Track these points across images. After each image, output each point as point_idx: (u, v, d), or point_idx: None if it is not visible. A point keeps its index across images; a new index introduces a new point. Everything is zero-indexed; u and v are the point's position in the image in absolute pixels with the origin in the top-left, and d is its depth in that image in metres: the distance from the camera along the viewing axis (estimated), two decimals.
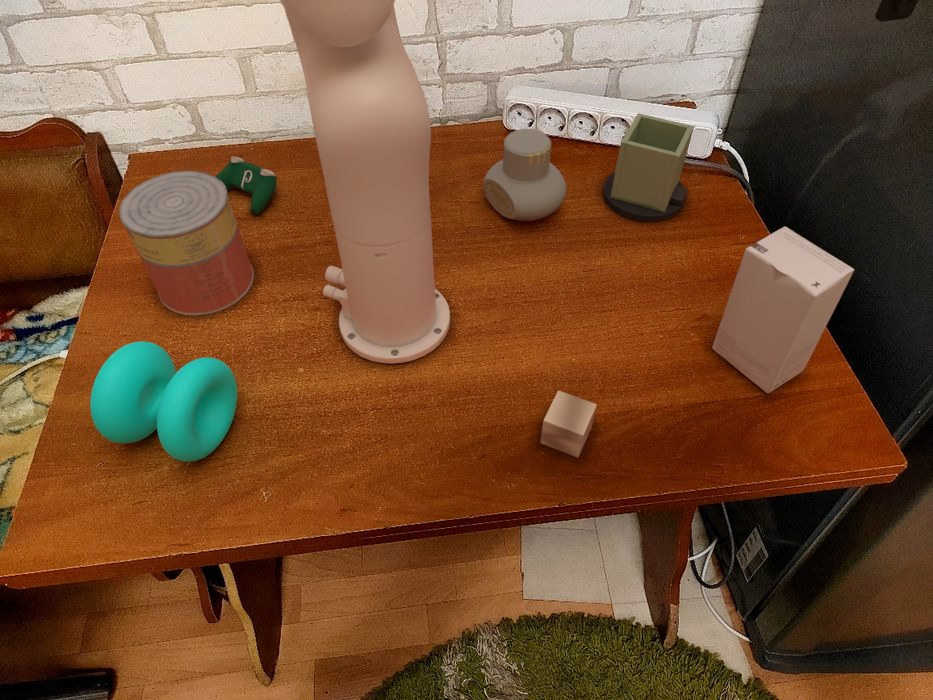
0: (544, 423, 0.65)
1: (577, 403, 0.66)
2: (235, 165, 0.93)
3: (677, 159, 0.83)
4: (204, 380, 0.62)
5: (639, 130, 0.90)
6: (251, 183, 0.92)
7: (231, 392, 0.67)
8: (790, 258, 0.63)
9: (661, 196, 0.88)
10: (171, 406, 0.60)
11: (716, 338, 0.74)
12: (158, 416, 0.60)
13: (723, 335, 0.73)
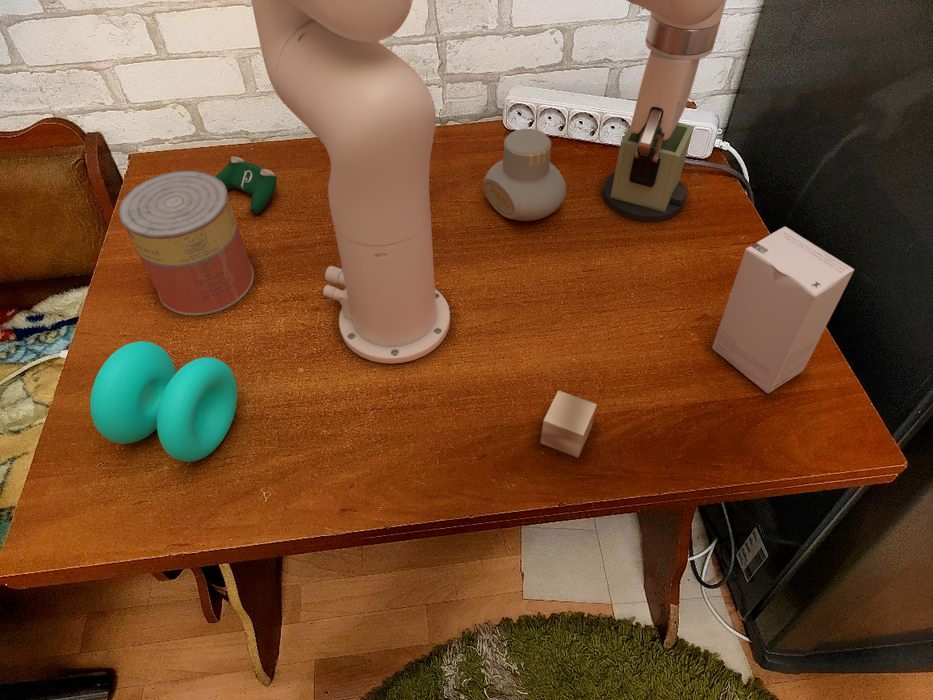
0: (544, 423, 0.65)
1: (577, 403, 0.66)
2: (235, 165, 0.93)
3: (677, 159, 0.83)
4: (204, 380, 0.62)
5: None
6: (251, 182, 0.92)
7: (231, 392, 0.67)
8: (790, 258, 0.63)
9: (661, 196, 0.88)
10: (171, 406, 0.60)
11: (716, 338, 0.74)
12: (158, 416, 0.60)
13: (723, 335, 0.73)
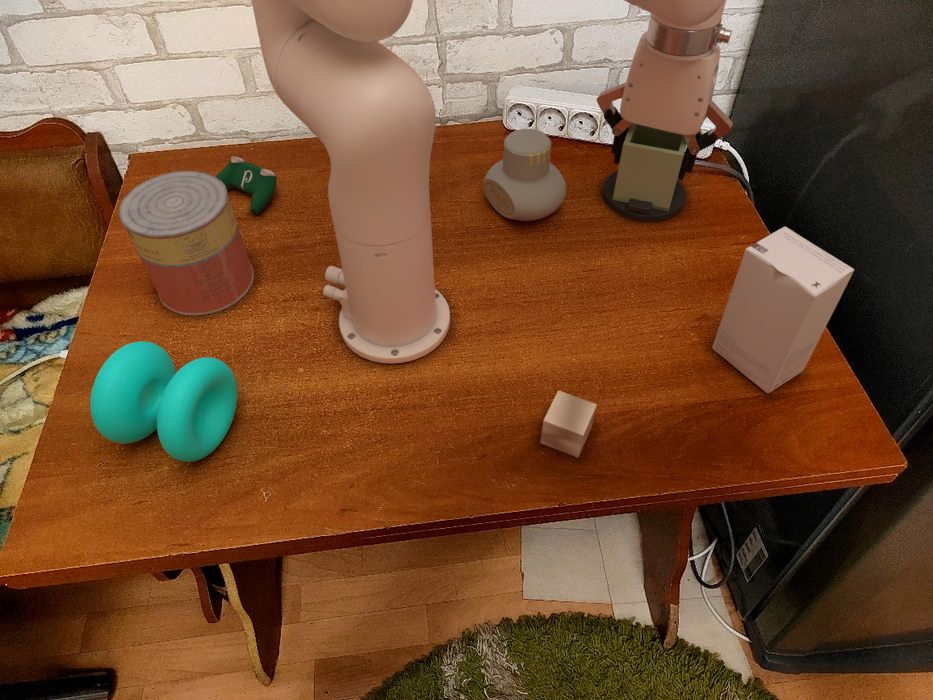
0: (544, 423, 0.65)
1: (577, 403, 0.66)
2: (235, 165, 0.93)
3: None
4: (204, 380, 0.62)
5: (681, 139, 0.89)
6: (251, 183, 0.92)
7: (231, 392, 0.67)
8: (790, 258, 0.63)
9: None
10: (171, 406, 0.60)
11: (716, 338, 0.74)
12: (158, 416, 0.60)
13: (723, 335, 0.73)
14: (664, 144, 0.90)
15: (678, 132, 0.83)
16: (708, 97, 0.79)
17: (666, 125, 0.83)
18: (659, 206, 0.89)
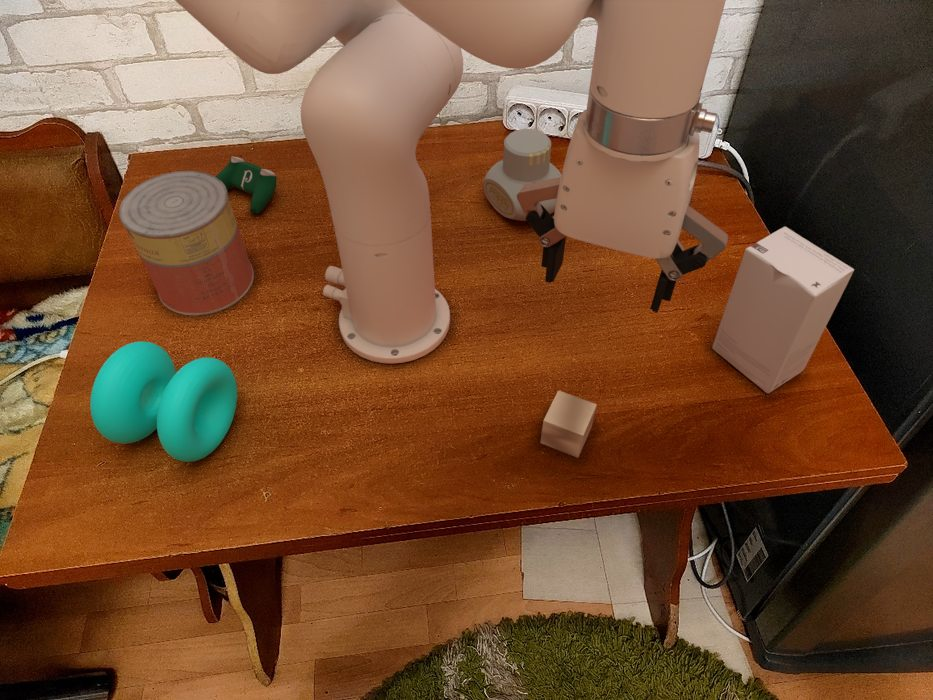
0: (544, 423, 0.65)
1: (577, 403, 0.66)
2: (235, 165, 0.93)
3: None
4: (204, 380, 0.62)
5: None
6: (251, 182, 0.92)
7: (231, 392, 0.67)
8: (790, 258, 0.63)
9: None
10: (171, 406, 0.60)
11: (716, 338, 0.74)
12: (158, 416, 0.60)
13: (723, 335, 0.73)
14: None
15: (641, 254, 0.55)
16: (684, 209, 0.51)
17: (622, 245, 0.55)
18: None
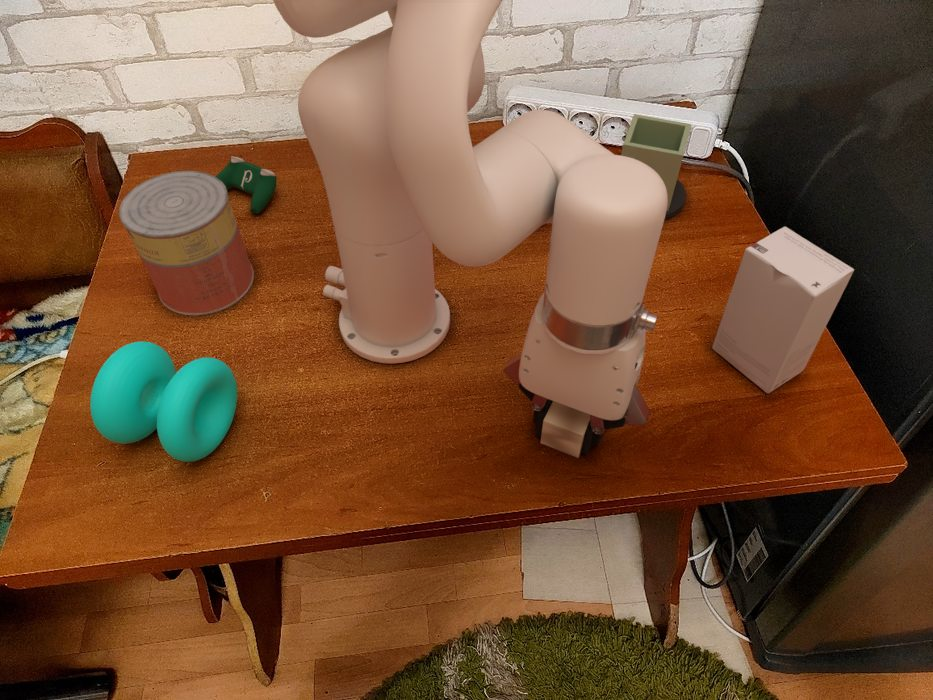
0: (544, 423, 0.65)
1: None
2: (235, 165, 0.93)
3: None
4: (204, 380, 0.62)
5: (681, 139, 0.89)
6: (251, 182, 0.92)
7: (231, 392, 0.67)
8: (790, 258, 0.63)
9: None
10: (171, 406, 0.60)
11: (716, 338, 0.74)
12: (158, 416, 0.60)
13: (723, 335, 0.73)
14: (664, 144, 0.90)
15: (595, 415, 0.61)
16: (631, 386, 0.57)
17: (578, 406, 0.60)
18: None
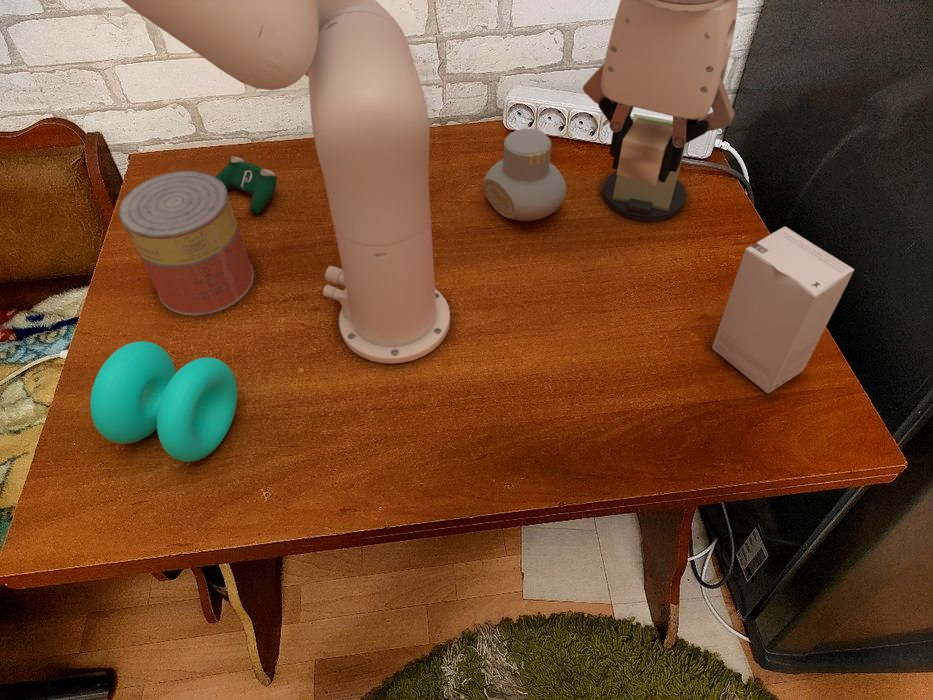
0: (623, 143, 0.65)
1: (656, 128, 0.66)
2: (235, 165, 0.93)
3: None
4: (204, 380, 0.62)
5: None
6: (251, 182, 0.92)
7: (231, 392, 0.67)
8: (790, 258, 0.63)
9: None
10: (171, 406, 0.60)
11: (716, 338, 0.74)
12: (158, 416, 0.60)
13: (723, 335, 0.73)
14: None
15: (679, 115, 0.61)
16: (720, 65, 0.57)
17: (663, 105, 0.60)
18: (659, 206, 0.89)
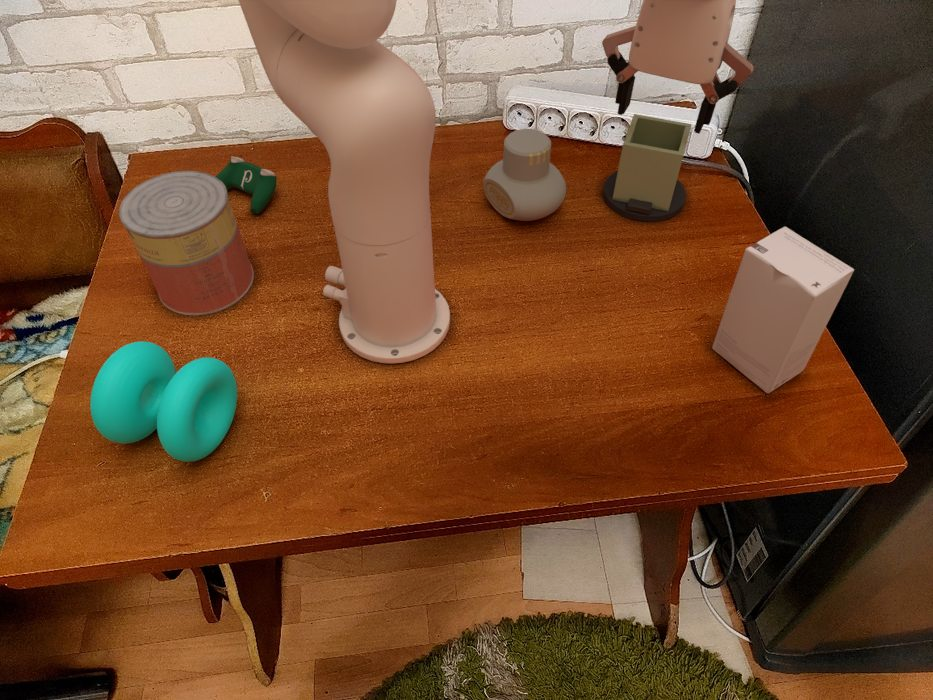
0: None
1: None
2: (235, 165, 0.93)
3: None
4: (204, 380, 0.62)
5: (681, 139, 0.89)
6: (251, 183, 0.92)
7: (231, 392, 0.67)
8: (790, 258, 0.63)
9: None
10: (171, 406, 0.60)
11: (716, 338, 0.74)
12: (158, 416, 0.60)
13: (723, 335, 0.73)
14: (664, 144, 0.90)
15: (691, 80, 0.77)
16: (723, 40, 0.74)
17: (678, 73, 0.77)
18: (659, 206, 0.89)
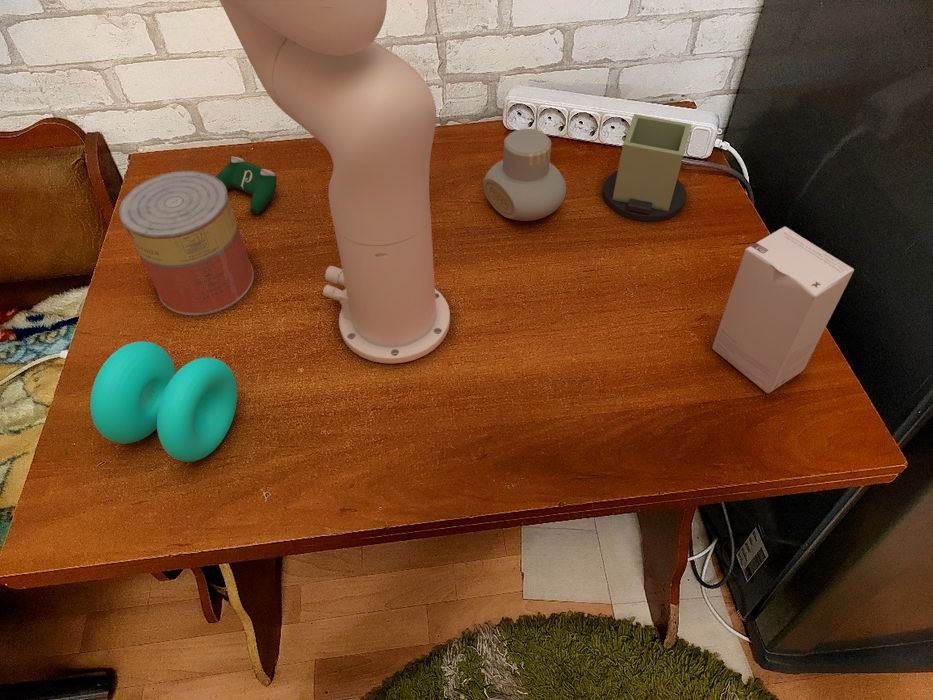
0: None
1: None
2: (235, 165, 0.93)
3: None
4: (204, 380, 0.62)
5: (681, 139, 0.89)
6: (251, 183, 0.92)
7: (231, 392, 0.67)
8: (790, 258, 0.63)
9: None
10: (171, 406, 0.60)
11: (716, 338, 0.74)
12: (158, 416, 0.60)
13: (723, 335, 0.73)
14: (664, 144, 0.90)
15: None
16: None
17: None
18: (659, 206, 0.89)
